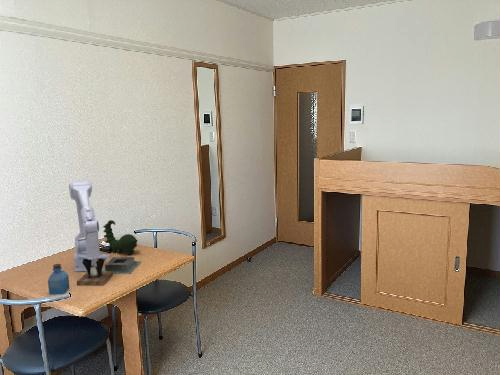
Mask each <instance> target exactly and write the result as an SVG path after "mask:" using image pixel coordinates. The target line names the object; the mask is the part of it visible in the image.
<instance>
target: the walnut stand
mask: <svg viewBox="0 0 500 375" xmlns="http://www.w3.org/2000/svg"><path fill="white" fill-rule="evenodd" d="M113 276H114V274H113V271H102V273H101V274H100V278H99V279H91V275H88V272H87V271H86V273H85V274H83V275H82V276H81V277H80V278H79V279H77V280H76V285H77V286H105V284H107V282H108V281H109V280H110V279H111V278H112V277H113Z"/></svg>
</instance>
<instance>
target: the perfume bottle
mask: <svg viewBox="0 0 500 375" xmlns="http://www.w3.org/2000/svg"><path fill="white" fill-rule="evenodd" d="M61 265H62V264H61V263H55V264H53V265H52V272H51V274H50V276H49V278H48V280H47V286H48V294H49V295H64V294H65V293H67V291H68V290H69V289H70V278H69V274H68V272H66V271H65V270H62V266H61Z"/></svg>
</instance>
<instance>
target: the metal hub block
mask: <svg viewBox="0 0 500 375" xmlns="http://www.w3.org/2000/svg"><path fill="white" fill-rule="evenodd" d="M141 263H142V261H141V260H135V256H123V257H122V256H120V257H119V256H115V257H112V258H110V259H109V260H108V262H106V263H104V266H103V267H102V271H113V275H116V274H117V275H130V274H132V273H133V272H134V271H135V270H136V268H138V266H140V264H141Z"/></svg>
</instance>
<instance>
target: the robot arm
mask: <svg viewBox="0 0 500 375" xmlns="http://www.w3.org/2000/svg"><path fill="white" fill-rule="evenodd" d="M68 191H69V197H70V199H71V200H74V202H75V204H76V212H77V220H78V225H79V226H78V228H79V233H78V234H76V236H74V248H75V253H74V254H73V262H74V270H73V271H74V272H86V273H87V272H88V275H90V266H91V265H95V264H97V268H98V275H100V274H101V273H102V269H103V268H104V265H105V261H110V260H111V257H110V254H108V253H107V254H105V253H101V250H100V238H99V232H100V222H99V220H98V219H97V217H96V215H95V211H94V208H93V207H92V206H91V203H90V197H91V195H92V192H93V185H92V181H90V180H82V181H70V182H69V183H68Z"/></svg>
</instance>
